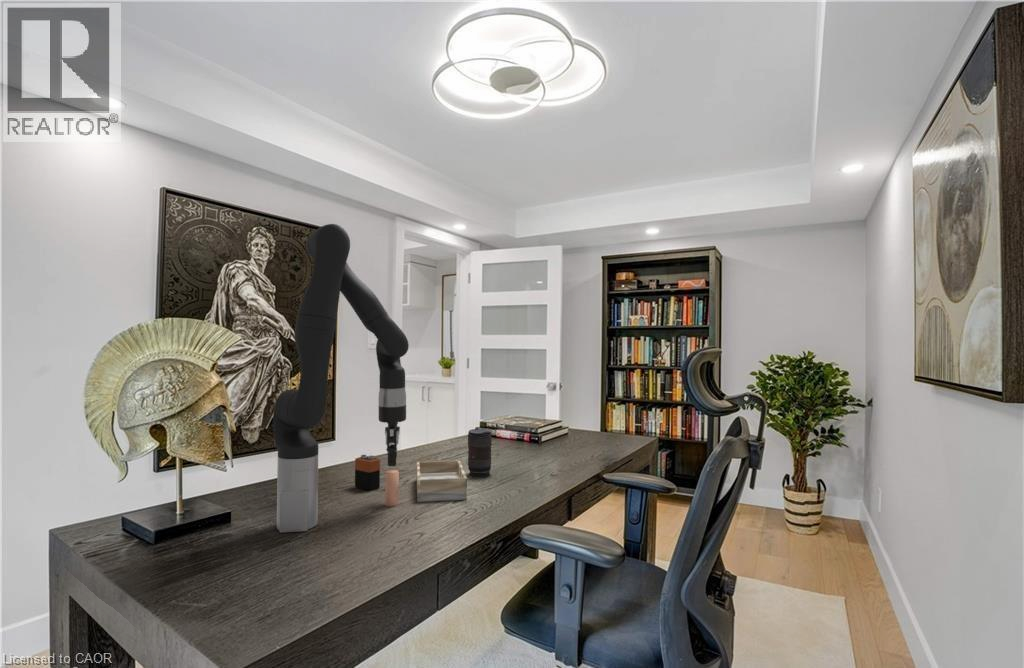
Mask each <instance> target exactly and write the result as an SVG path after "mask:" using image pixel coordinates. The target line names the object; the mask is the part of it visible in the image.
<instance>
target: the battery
mask: <svg viewBox="0 0 1024 668" xmlns="http://www.w3.org/2000/svg"><path fill="white" fill-rule="evenodd" d="M380 469H381V459H380V458H378V457H376V456H375V455H368V456H367V454H361V455H360V457H357V458H355V459H354V487H355V488H356V489H360V490H364V491H368V492H370V491H373V490H376V489H380V487H381V485H380V483H381V476H380V475H381V473H380V472H381V470H380Z"/></svg>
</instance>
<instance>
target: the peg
mask: <svg viewBox="0 0 1024 668" xmlns="http://www.w3.org/2000/svg"><path fill="white" fill-rule="evenodd" d="M399 472H400V471H399V470H395V469H390V470H386V471H385V473H384V474H385V475H384V476H385V479H384V483H385V486H384V489H385V490H384V492H385V493H384V505H385V507H396V506H398V505H399V487H400V485H399V482H400V481H399V480H400V479H399Z"/></svg>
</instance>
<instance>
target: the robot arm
mask: <svg viewBox="0 0 1024 668" xmlns="http://www.w3.org/2000/svg"><path fill="white" fill-rule="evenodd" d="M305 240H306V241H305V249H306V252H307V254H308V256H309V257H310V258H311V259H312V260H313V269H312V275H311V277H310V281H309V282H308V284H307V287H306V289H305V291H304V294H303V296H302V298H301V302H300V304H299V306H298V311H297V315H296V322H295V326H294V327H295V328H294V342H295V347H296V350H297V354H298V358H299V362H300V377H299V383H298V388H290V389H286V390H284V391H282V392H281V393H279V395H278V396H277V398H276V399H275V402H274V405H273V413H272V414H273V419H272V420H273V441H274V445H275V447H276V449H277V471H276V472H277V475H276V476H277V477H276V479H277V480H276V481H277V482H276V483H277V485H276V529H277V530H278V531H279V533H281V534H282V533H294V532H296V533H297V532H307V531H309V530H310V529H312V528H314V527H316V526H317V525H318V516H319V515H318V507H319V506H318V501H319V499H318V498H319V497H318V496H319V495H318V493H319V492H318V491H319V443H318V441H317V440H316V439H315V438H313V436H312V435H311V433H310V431H309V430H310V429H314V428H317V427H318V426H319V425H320V424H321V422H322V420H324V416H325V413H326V409H327V402H328V401H327V400H328V399H327V398H328V382H329V381H328V378H329V368H330V361H331V355H332V346H333V341H334V337H335V331H336V324H337V323H336V322H337V316H338V310H339V309H338V308H339V302H340V294H342V295H343V297H344V298H345V300H346V301H347V302H348V304H349V306H351V308H352V310H353V311H354V312H355V315H357V318H358V319H359V321H361V323H362V324H363V326H364V327H365V329H366V330H368V331H369V332H370V333H372V334H373V335H374V336H375V337H376V339H377V340H376V343H375V344H376V346H375V355H376V360H377V366H378V371H379V391H378V421H379V422H380V423H385V424H387V426H386V427H384V435H385V445H386V452H387V466H388V467H396V465H397V458H398V446H397V445H399V443H400V442H399V440H400V433H401V432H400V430H401V428H400V426H398V424H399V423H401V422H405V421H407V392H406V371H405V368H404V367H403V366H402V364H401V358H402V357H404V356H405V355H406V354H407V353H408V351H409V346H410V345H409V340H408V338H407V336H406V334H405V333H404V332H403V330H402V329H401V328H400V327H399V325H398V324H396V322H395V321H394V320H393V319H392V318H391V317H390V316H389V314H388V312H387V310H386V309H385V307H384V306H383V304H382V303H381V301H380V300H379V298H378V297H377V295H376V294H375V293H374V292H373V290H372V289H370V287H369V286H367V285H366V284H365V283H364V281H362V280H361V278H359V277H358V276H357V274H355V272H354V271H353V270H352V268H351V267H350V265H349V264H348V262H347V261H348V257H349V254H350V249H351V239H350V237H349V234H348V232H347V231H346V229H344V227H342V226H341V225H338V224H337V223H336V224H335V223H328V224H325V225H323V226H320V227H318V228H317V229H316V230H313V231H312V232H311V233H310V234H308V236H307V238H306V239H305Z"/></svg>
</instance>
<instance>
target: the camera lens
mask: <svg viewBox="0 0 1024 668" xmlns="http://www.w3.org/2000/svg"><path fill="white" fill-rule="evenodd" d="M492 436H493V435H492V430H490V429H488V428H474V429H473V428H471V429H469V430H468V433H467V447H468V448H467V449H468V452H467V453H468V454H467V455H468V456H467V468H468V471H469V476H471V477H476V478H483V477H484V478H485V477H488V476H490V473H491V472H490V471H491V470H492V468H491V467H492V438H493V437H492Z"/></svg>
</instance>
